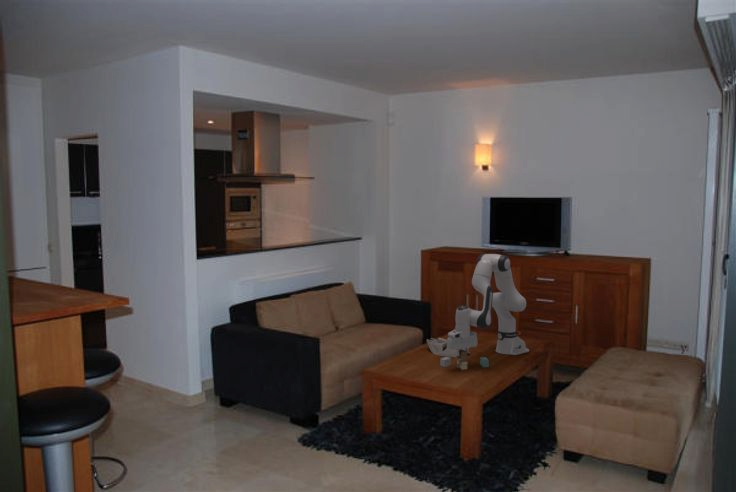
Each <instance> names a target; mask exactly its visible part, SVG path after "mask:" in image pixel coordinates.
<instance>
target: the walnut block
mask: <svg viewBox="0 0 736 492" xmlns="http://www.w3.org/2000/svg"><path fill="white" fill-rule="evenodd" d="M468 352H469V351H468ZM468 352H467V351H465V350H462V349H461V350H459V353H461V356H457V358H456V359H459V360H461V359H462V360H464V361H466V360H468V354H469V353H468Z"/></svg>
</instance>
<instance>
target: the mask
mask: <svg viewBox="0 0 736 492" xmlns="http://www.w3.org/2000/svg"><path fill="white" fill-rule="evenodd" d="M426 343H427V346H428V348H429V350H430V351H431V353H432V354H434V355H436V356H440V357H443V358H444V357H449V358H453V359H458V358H457V352H456V350H449V349H448V348H447V339H446V338H442V337H437V338H433V337H431V338H430V339H426ZM444 348H445V349H444ZM459 350H461V349H459ZM462 350H466V349H465V348H463V349H462ZM468 354H469V355H470V354H471V352H470V351H468Z"/></svg>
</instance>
